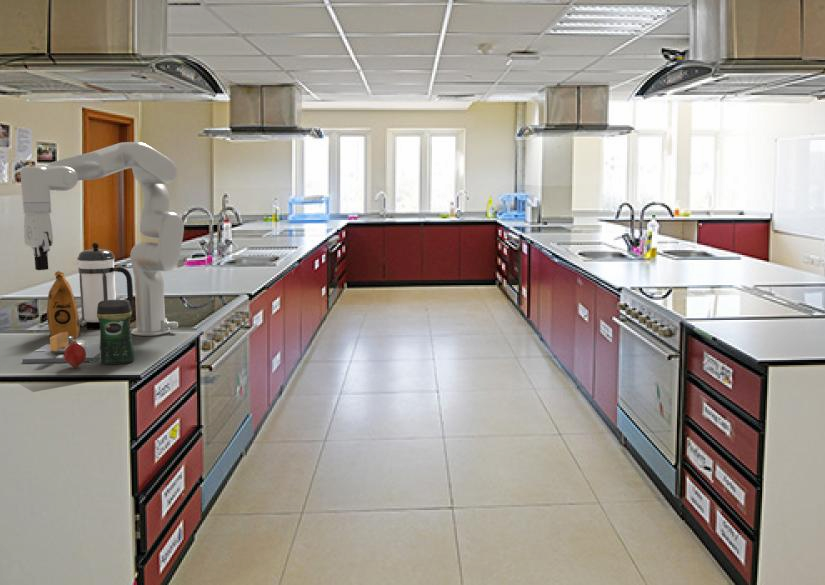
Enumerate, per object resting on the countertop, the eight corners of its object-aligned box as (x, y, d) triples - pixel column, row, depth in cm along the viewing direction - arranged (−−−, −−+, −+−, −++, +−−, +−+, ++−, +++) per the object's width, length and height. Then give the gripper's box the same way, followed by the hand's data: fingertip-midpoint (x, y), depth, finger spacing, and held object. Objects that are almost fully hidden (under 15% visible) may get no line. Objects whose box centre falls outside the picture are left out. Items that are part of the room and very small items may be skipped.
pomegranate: (61, 367, 227) (59, 340, 226) (81, 364, 231) (80, 337, 230) (69, 371, 223) (67, 343, 222) (90, 367, 227) (88, 340, 226)
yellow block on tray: (59, 346, 248) (58, 327, 247) (91, 346, 248) (90, 327, 247) (37, 357, 233) (36, 337, 232) (71, 357, 233) (70, 337, 232)
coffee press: (87, 329, 281) (82, 245, 277) (72, 323, 293) (67, 242, 289) (135, 323, 293) (131, 242, 288) (118, 317, 304) (114, 239, 300)
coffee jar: (135, 358, 239) (132, 297, 236) (132, 364, 232) (129, 301, 229) (101, 359, 237) (98, 298, 234) (97, 365, 229) (94, 302, 227)
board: (111, 346, 254) (110, 342, 254) (93, 361, 234) (93, 356, 234) (46, 348, 252) (45, 343, 252) (22, 363, 232) (22, 358, 232)
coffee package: (47, 341, 262) (43, 275, 259) (48, 334, 273) (44, 270, 270) (79, 339, 266) (76, 274, 262) (80, 332, 277) (76, 269, 274)
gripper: (14, 208, 238) (19, 268, 241) (34, 210, 228) (39, 273, 231) (40, 207, 243) (44, 266, 246) (60, 209, 233) (65, 270, 236)
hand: (42, 269), depth 239 cm, fingers closed
